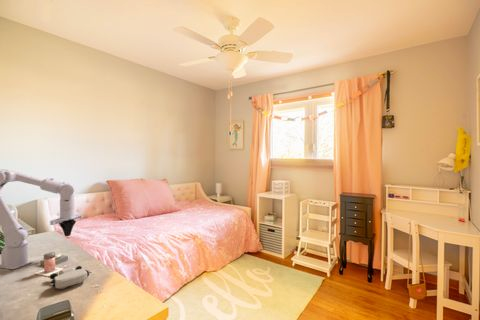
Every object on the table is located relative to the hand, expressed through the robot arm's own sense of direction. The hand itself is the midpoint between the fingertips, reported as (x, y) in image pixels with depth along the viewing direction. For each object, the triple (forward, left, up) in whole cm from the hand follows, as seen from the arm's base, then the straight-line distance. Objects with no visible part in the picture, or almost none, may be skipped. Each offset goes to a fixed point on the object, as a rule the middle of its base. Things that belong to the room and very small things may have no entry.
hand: (67, 235), depth 114 cm
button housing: (+2, -8, -10) cm, 13 cm away
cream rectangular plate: (+10, -15, -10) cm, 20 cm away
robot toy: (+26, -18, -10) cm, 33 cm away
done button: (+2, -8, -9) cm, 12 cm away
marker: (+10, -15, -9) cm, 20 cm away
